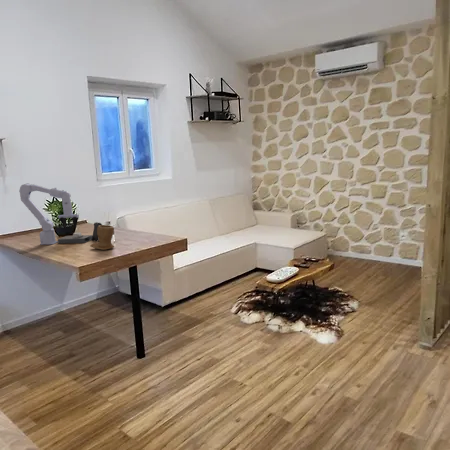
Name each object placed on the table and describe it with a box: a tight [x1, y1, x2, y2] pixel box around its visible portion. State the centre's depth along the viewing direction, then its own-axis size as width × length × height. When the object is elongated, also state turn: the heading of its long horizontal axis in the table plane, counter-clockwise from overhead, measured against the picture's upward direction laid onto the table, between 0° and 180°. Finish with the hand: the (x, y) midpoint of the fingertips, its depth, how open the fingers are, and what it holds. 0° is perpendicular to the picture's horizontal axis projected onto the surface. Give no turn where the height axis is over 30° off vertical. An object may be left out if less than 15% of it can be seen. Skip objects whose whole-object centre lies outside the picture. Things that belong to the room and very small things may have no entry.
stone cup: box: [89, 224, 115, 251], centre depth 256 cm, size 15×12×15 cm
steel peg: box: [72, 231, 82, 238], centre depth 284 cm, size 4×4×6 cm
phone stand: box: [91, 221, 103, 242], centre depth 285 cm, size 9×6×12 cm, turn 134°
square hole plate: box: [57, 234, 93, 245], centre depth 285 cm, size 20×11×3 cm, turn 80°
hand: (70, 227), depth 286 cm, fingers open, 7 cm apart
